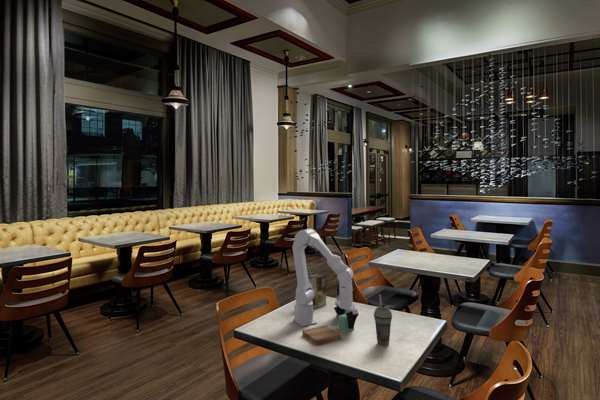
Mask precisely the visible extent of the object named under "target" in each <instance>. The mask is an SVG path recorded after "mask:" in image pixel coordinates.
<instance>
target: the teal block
mask: <svg viewBox="0 0 600 400" xmlns="http://www.w3.org/2000/svg"><path fill="white" fill-rule="evenodd" d="M337 325H338V329H339V331H342V332H343V333H348V332H351V331H354V330H355V327H354V328H353V329H349V327H348V319H347V316H346V314H342V315H338V323H337Z"/></svg>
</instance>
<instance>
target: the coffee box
mask: <svg viewBox="0 0 600 400" xmlns="http://www.w3.org/2000/svg"><path fill="white" fill-rule="evenodd" d="M308 279H309V283H310V284H311V285H312V289H313V290H314V292H315V297H314V299H313V309H317V308H319V307H320V308H321V307H324V306H326V305H327V285H326V283H327V282H326V279H327V277H326V275H323V274H322V273H315V274H311V275H309V274H308ZM316 307H317V308H316Z"/></svg>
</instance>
